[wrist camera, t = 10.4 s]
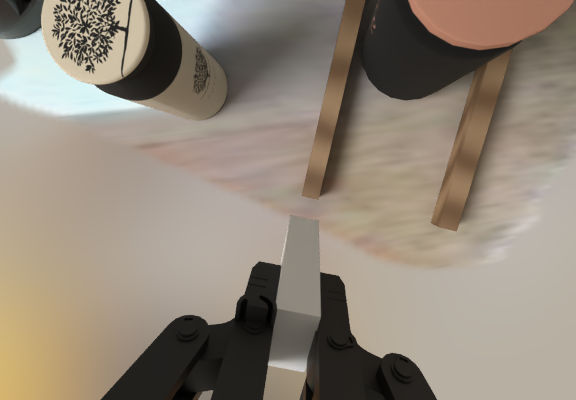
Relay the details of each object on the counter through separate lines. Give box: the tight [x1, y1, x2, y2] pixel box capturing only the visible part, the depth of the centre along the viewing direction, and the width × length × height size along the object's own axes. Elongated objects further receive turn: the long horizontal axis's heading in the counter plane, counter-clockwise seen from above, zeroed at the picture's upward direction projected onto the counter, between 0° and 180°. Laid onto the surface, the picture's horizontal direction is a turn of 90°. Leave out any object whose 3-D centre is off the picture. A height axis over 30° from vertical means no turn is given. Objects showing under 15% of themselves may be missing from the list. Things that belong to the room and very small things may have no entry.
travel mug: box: [41, 0, 228, 121], centre depth 29 cm, size 8×8×18 cm
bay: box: [302, 0, 513, 231], centre depth 35 cm, size 28×18×3 cm, turn 168°
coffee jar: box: [362, 0, 574, 100], centre depth 27 cm, size 11×11×18 cm
